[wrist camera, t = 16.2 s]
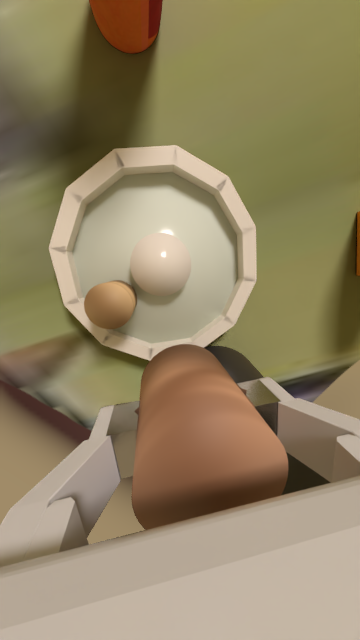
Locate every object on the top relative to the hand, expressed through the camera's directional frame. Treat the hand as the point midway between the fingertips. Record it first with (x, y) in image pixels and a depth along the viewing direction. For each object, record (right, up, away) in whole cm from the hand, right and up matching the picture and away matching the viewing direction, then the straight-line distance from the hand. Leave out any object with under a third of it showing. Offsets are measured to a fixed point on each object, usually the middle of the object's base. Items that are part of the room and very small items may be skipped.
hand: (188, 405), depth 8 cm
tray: (-3, +10, +15) cm, 18 cm away
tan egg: (-7, +6, +14) cm, 17 cm away
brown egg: (0, 0, +2) cm, 2 cm away
